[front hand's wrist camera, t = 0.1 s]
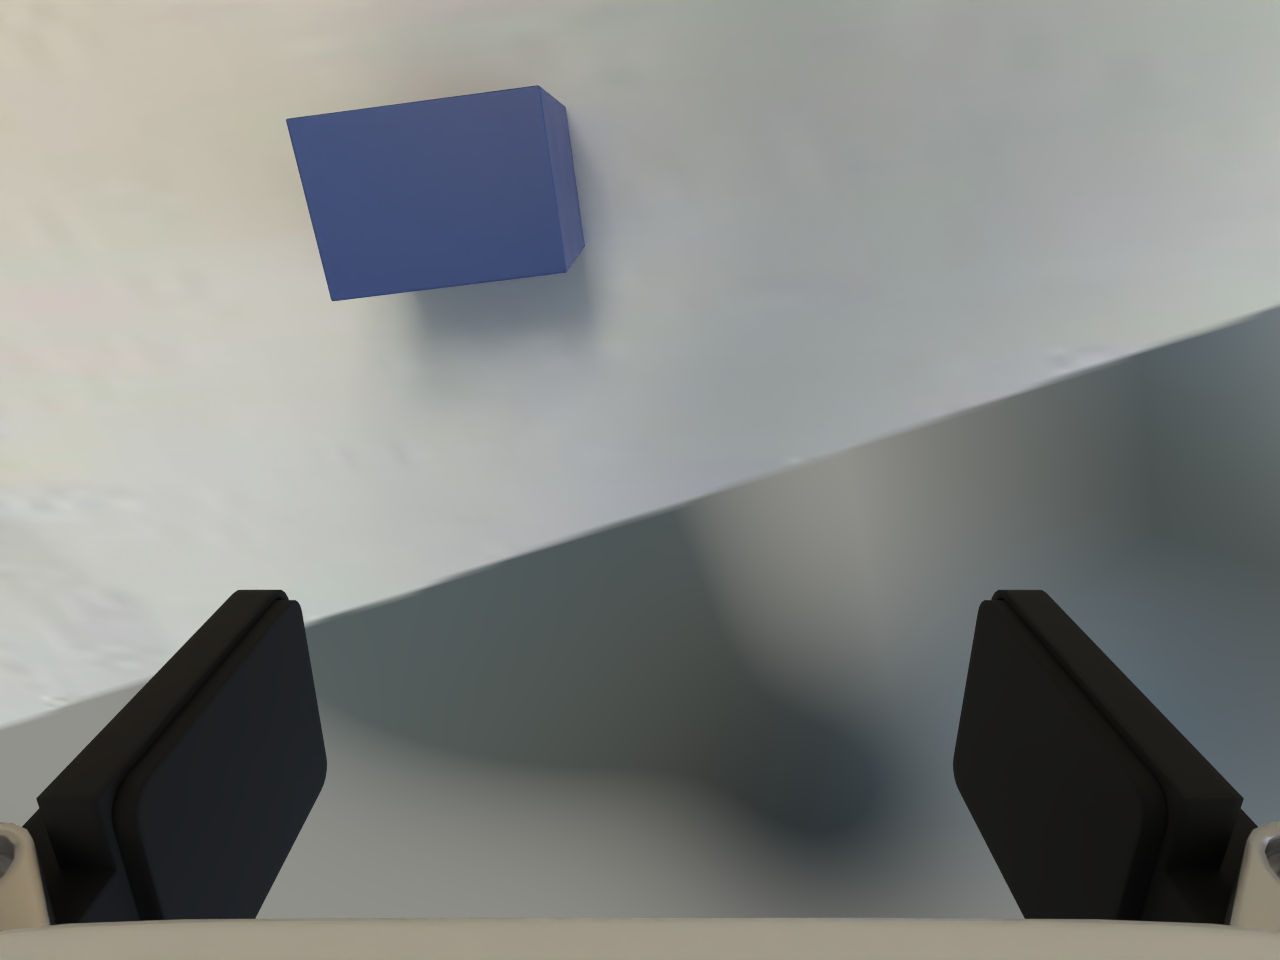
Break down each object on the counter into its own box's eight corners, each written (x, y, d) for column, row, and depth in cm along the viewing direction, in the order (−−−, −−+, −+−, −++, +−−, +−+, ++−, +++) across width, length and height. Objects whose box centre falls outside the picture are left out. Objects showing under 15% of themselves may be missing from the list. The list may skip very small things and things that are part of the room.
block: (375, 131, 37) (285, 118, 28) (565, 106, 37) (539, 85, 27) (405, 268, 40) (331, 301, 30) (585, 246, 39) (567, 272, 30)
